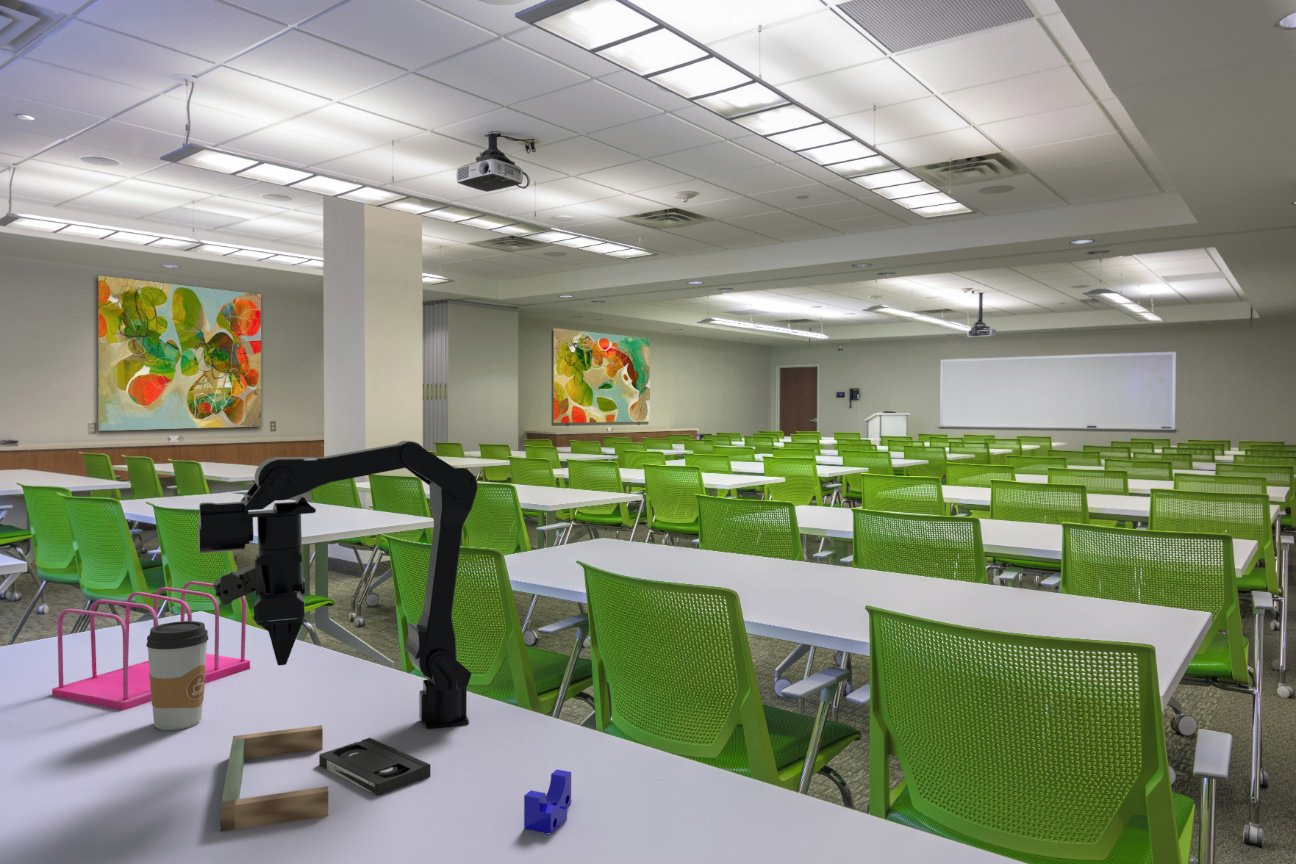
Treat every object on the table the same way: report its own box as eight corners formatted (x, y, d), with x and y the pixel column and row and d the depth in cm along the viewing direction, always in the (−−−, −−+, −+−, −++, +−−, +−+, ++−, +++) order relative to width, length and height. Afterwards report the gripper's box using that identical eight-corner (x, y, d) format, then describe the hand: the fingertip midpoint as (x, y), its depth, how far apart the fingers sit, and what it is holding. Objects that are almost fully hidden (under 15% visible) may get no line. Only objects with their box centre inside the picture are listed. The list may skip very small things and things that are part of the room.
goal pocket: (322, 745, 124) (322, 725, 124) (328, 816, 102) (328, 791, 102) (233, 757, 119) (233, 735, 119) (220, 833, 98) (220, 807, 98)
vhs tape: (317, 768, 117) (317, 754, 117) (369, 751, 123) (369, 737, 123) (377, 799, 108) (377, 784, 108) (430, 779, 114) (430, 764, 114)
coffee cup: (182, 737, 126) (181, 635, 126) (133, 732, 128) (132, 632, 128) (221, 717, 135) (220, 621, 134) (174, 713, 136) (174, 618, 136)
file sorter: (251, 670, 160) (251, 585, 159) (123, 713, 136) (123, 614, 136) (183, 659, 166) (183, 577, 166) (50, 698, 143) (50, 604, 143)
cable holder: (550, 835, 99) (550, 800, 99) (524, 829, 100) (524, 795, 100) (582, 806, 106) (582, 773, 106) (556, 801, 107) (556, 769, 107)
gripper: (223, 540, 128) (225, 645, 129) (209, 562, 111) (212, 682, 111) (304, 535, 132) (306, 637, 133) (303, 555, 115) (306, 672, 115)
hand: (282, 655), depth 123 cm, fingers open, 9 cm apart
